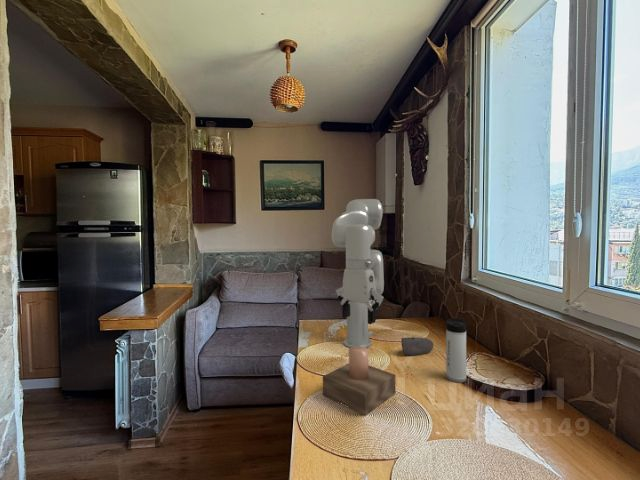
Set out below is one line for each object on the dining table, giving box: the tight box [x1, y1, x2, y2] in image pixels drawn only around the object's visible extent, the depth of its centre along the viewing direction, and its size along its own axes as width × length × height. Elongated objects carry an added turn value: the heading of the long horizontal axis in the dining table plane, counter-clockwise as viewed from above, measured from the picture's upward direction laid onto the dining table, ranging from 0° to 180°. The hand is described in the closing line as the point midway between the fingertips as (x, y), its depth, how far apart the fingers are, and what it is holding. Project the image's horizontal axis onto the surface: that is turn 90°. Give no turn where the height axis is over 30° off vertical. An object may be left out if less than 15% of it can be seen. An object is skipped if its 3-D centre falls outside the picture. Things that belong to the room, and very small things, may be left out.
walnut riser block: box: [322, 362, 397, 417], centre depth 97 cm, size 16×16×6 cm
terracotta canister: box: [348, 346, 370, 380], centre depth 96 cm, size 6×6×8 cm
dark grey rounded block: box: [400, 336, 434, 356], centre depth 128 cm, size 15×5×7 cm, turn 100°
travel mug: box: [445, 317, 467, 384], centre depth 106 cm, size 6×7×20 cm
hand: (358, 319), depth 96 cm, fingers open, 9 cm apart
